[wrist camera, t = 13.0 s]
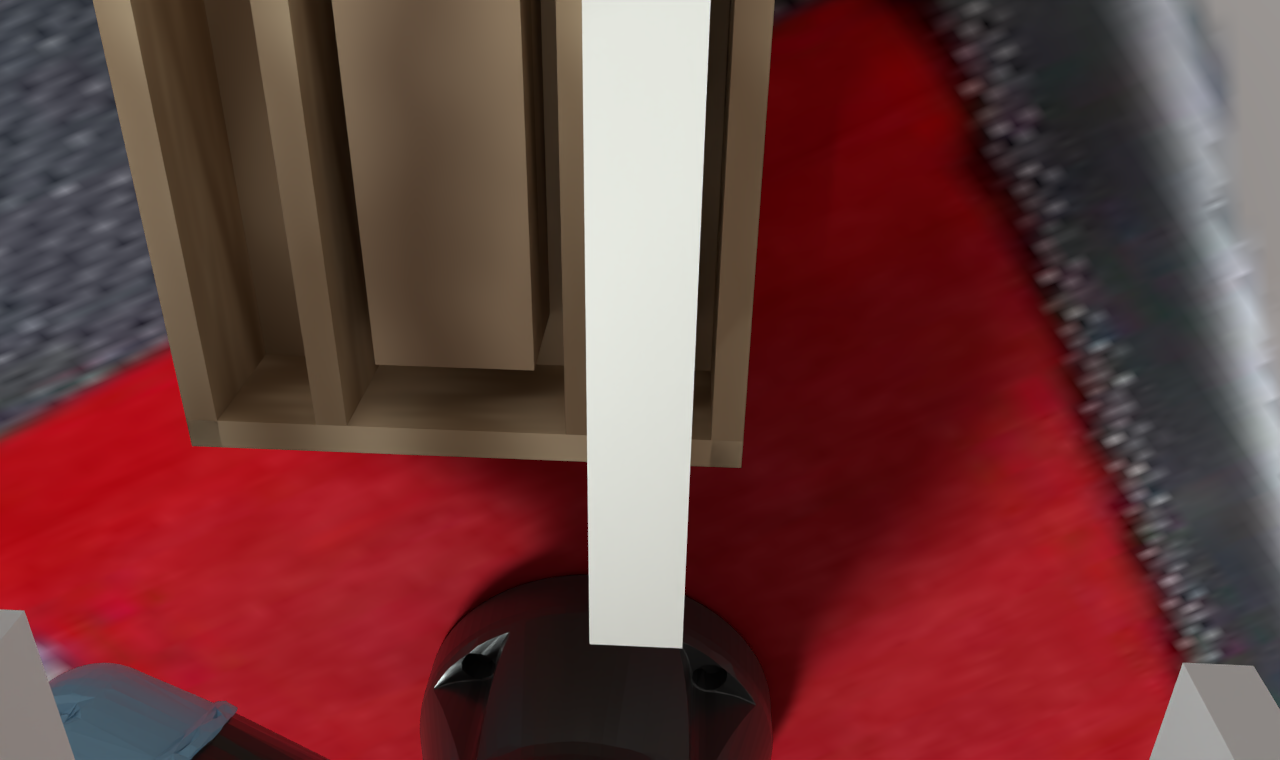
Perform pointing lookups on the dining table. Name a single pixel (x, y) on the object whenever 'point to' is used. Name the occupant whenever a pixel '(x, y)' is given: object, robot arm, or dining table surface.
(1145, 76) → the dining table surface
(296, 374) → the rack
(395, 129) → the upper offcut
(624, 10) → the tall sheet
